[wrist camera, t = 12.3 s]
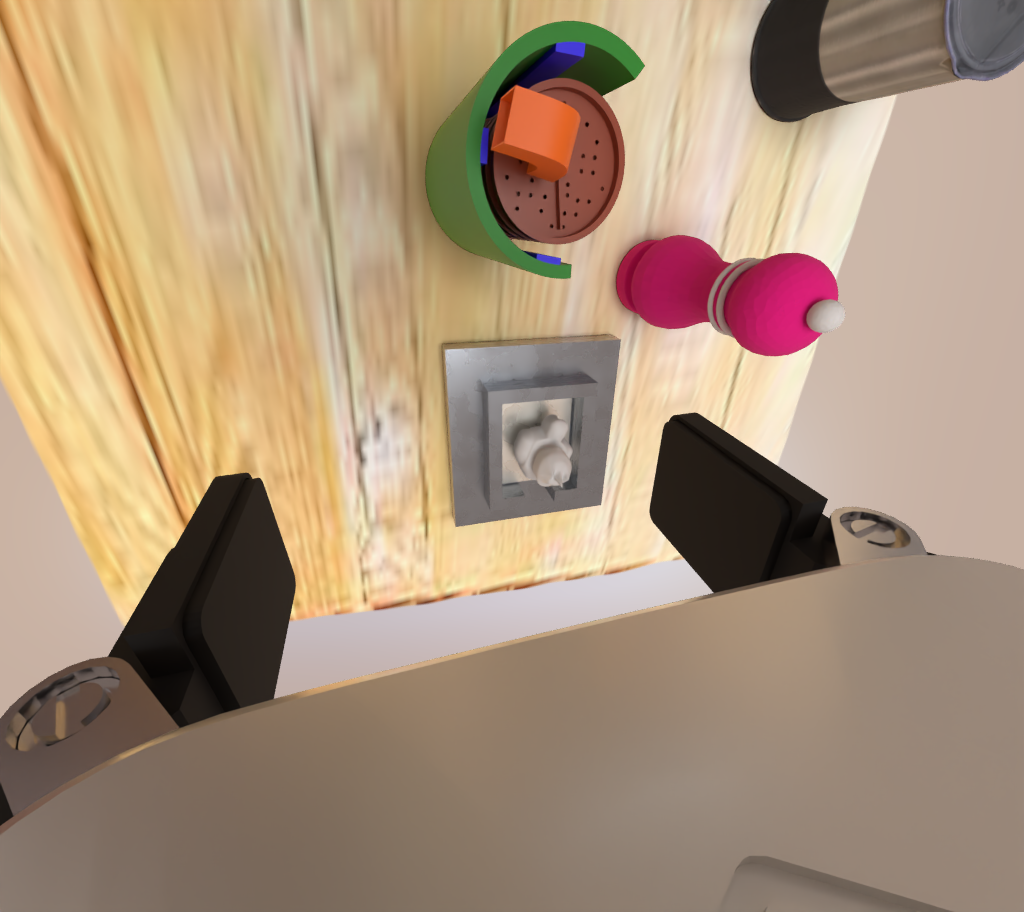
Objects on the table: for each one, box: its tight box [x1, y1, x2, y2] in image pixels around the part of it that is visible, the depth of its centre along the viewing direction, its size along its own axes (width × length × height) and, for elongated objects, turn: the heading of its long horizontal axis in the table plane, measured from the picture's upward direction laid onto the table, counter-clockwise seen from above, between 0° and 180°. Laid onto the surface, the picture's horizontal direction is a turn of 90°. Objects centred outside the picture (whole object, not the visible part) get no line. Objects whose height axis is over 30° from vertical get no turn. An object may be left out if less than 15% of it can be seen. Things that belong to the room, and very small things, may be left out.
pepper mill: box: [616, 235, 845, 356], centre depth 33 cm, size 7×7×20 cm
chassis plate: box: [442, 335, 621, 527], centre depth 43 cm, size 18×16×4 cm
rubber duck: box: [513, 414, 573, 487], centre depth 40 cm, size 5×7×8 cm
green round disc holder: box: [425, 21, 645, 279], centre depth 26 cm, size 10×9×20 cm
